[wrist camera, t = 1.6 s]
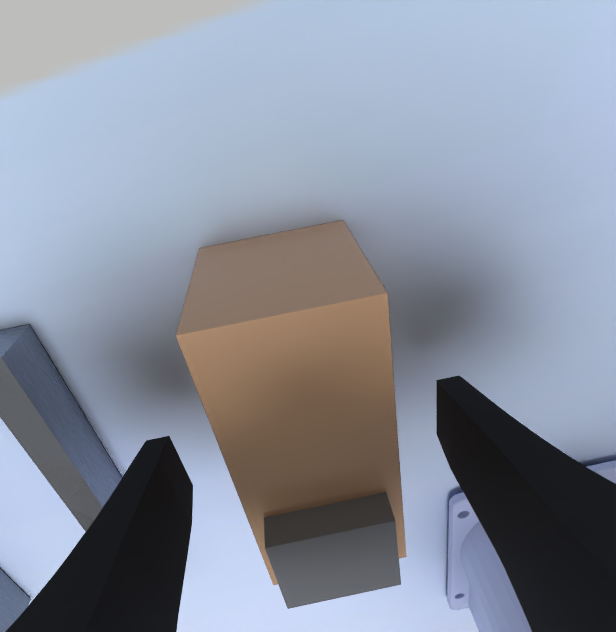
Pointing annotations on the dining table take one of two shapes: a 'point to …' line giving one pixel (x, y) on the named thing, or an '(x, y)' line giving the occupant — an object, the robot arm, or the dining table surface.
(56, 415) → the pair of grey bars
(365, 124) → the dining table surface
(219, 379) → the orange wooden block
